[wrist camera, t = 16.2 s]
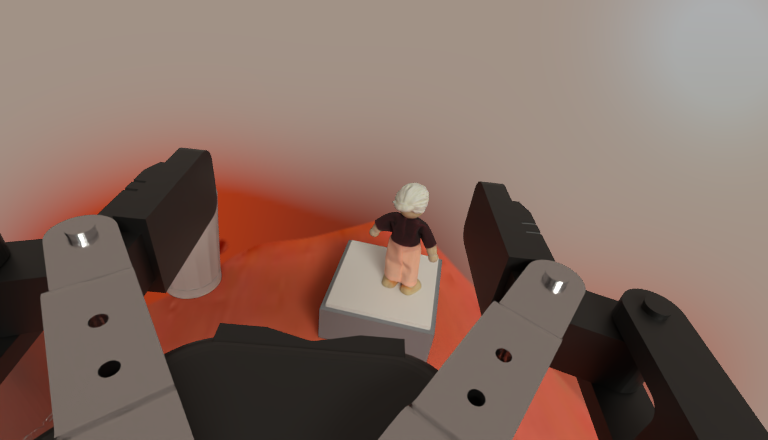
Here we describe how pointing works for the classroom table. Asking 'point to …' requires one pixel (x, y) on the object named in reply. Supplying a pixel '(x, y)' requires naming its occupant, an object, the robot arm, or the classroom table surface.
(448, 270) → the classroom table surface
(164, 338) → the classroom table surface
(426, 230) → the grandmother figurine
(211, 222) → the cup
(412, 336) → the plinth
